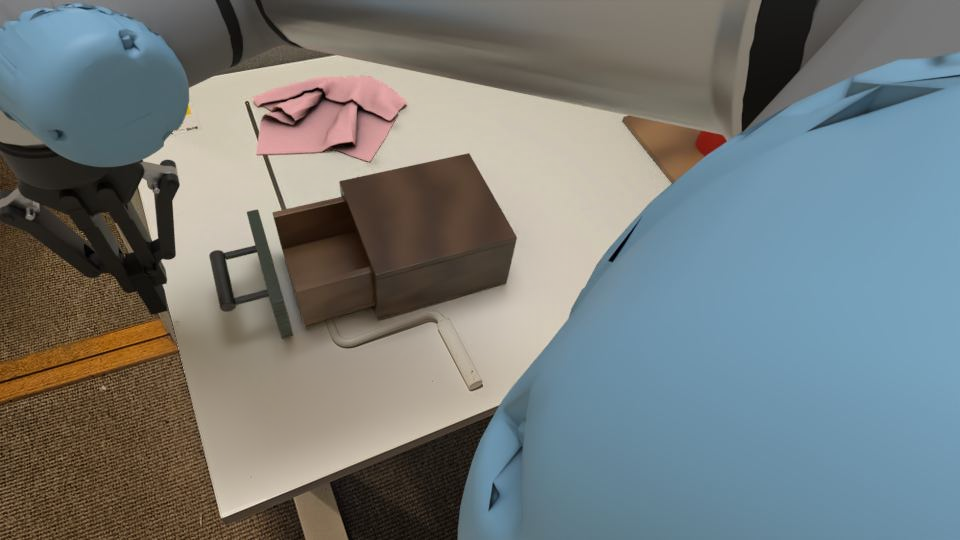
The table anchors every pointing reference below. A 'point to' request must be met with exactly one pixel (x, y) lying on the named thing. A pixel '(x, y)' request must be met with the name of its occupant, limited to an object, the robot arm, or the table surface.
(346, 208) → the drawer
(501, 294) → the table surface
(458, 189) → the cabinet
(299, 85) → the cloth
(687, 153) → the brown wooden square board
